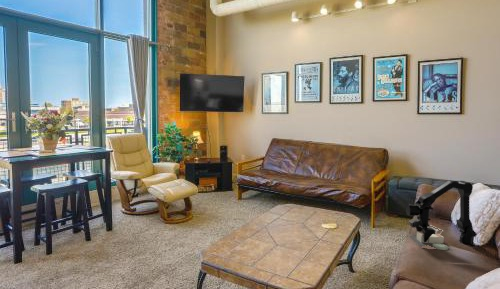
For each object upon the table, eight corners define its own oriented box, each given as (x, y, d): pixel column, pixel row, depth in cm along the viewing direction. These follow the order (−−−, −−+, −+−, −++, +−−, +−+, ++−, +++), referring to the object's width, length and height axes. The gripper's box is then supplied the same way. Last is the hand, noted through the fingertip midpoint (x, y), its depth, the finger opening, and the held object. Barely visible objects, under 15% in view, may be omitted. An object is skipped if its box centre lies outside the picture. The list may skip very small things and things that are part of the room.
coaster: (443, 244, 199) (443, 243, 199) (451, 250, 190) (451, 249, 190) (429, 244, 199) (429, 242, 199) (437, 249, 191) (437, 248, 191)
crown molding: (409, 221, 239) (438, 224, 235) (409, 223, 239) (438, 226, 235) (419, 233, 216) (452, 236, 212) (419, 235, 216) (452, 238, 212)
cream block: (422, 239, 207) (423, 231, 206) (427, 242, 201) (428, 234, 200) (416, 238, 207) (417, 231, 207) (420, 242, 201) (421, 234, 201)
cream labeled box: (438, 239, 206) (438, 233, 206) (443, 243, 201) (443, 237, 200) (423, 239, 207) (424, 232, 206) (428, 242, 201) (429, 236, 200)
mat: (433, 237, 212) (434, 236, 211) (452, 251, 191) (452, 249, 191) (407, 236, 212) (407, 234, 212) (423, 250, 191) (423, 248, 191)
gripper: (404, 210, 212) (402, 233, 214) (418, 220, 193) (415, 245, 195) (421, 211, 211) (419, 234, 213) (436, 221, 193) (434, 246, 195)
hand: (422, 239), depth 204 cm, fingers open, 7 cm apart
